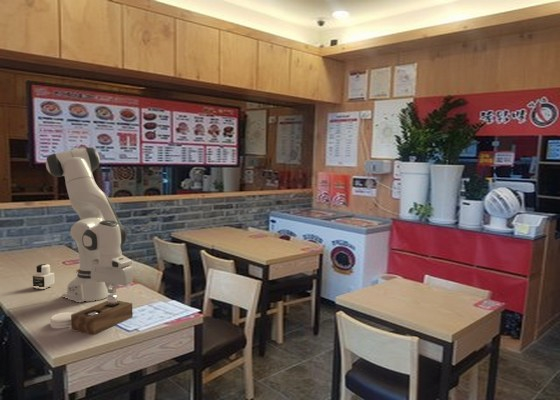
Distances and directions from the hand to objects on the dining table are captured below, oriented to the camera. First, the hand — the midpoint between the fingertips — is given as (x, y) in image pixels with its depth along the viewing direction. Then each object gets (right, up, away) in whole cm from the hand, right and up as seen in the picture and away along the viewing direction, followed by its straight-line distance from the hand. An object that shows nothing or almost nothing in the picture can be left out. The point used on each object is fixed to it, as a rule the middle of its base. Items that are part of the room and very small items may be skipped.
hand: (111, 292), depth 171 cm
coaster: (-18, -12, -4) cm, 22 cm away
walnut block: (-2, -12, -3) cm, 12 cm away
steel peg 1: (-4, -11, -8) cm, 14 cm away
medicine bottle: (-53, -7, +43) cm, 68 cm away
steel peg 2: (0, -6, +1) cm, 6 cm away
